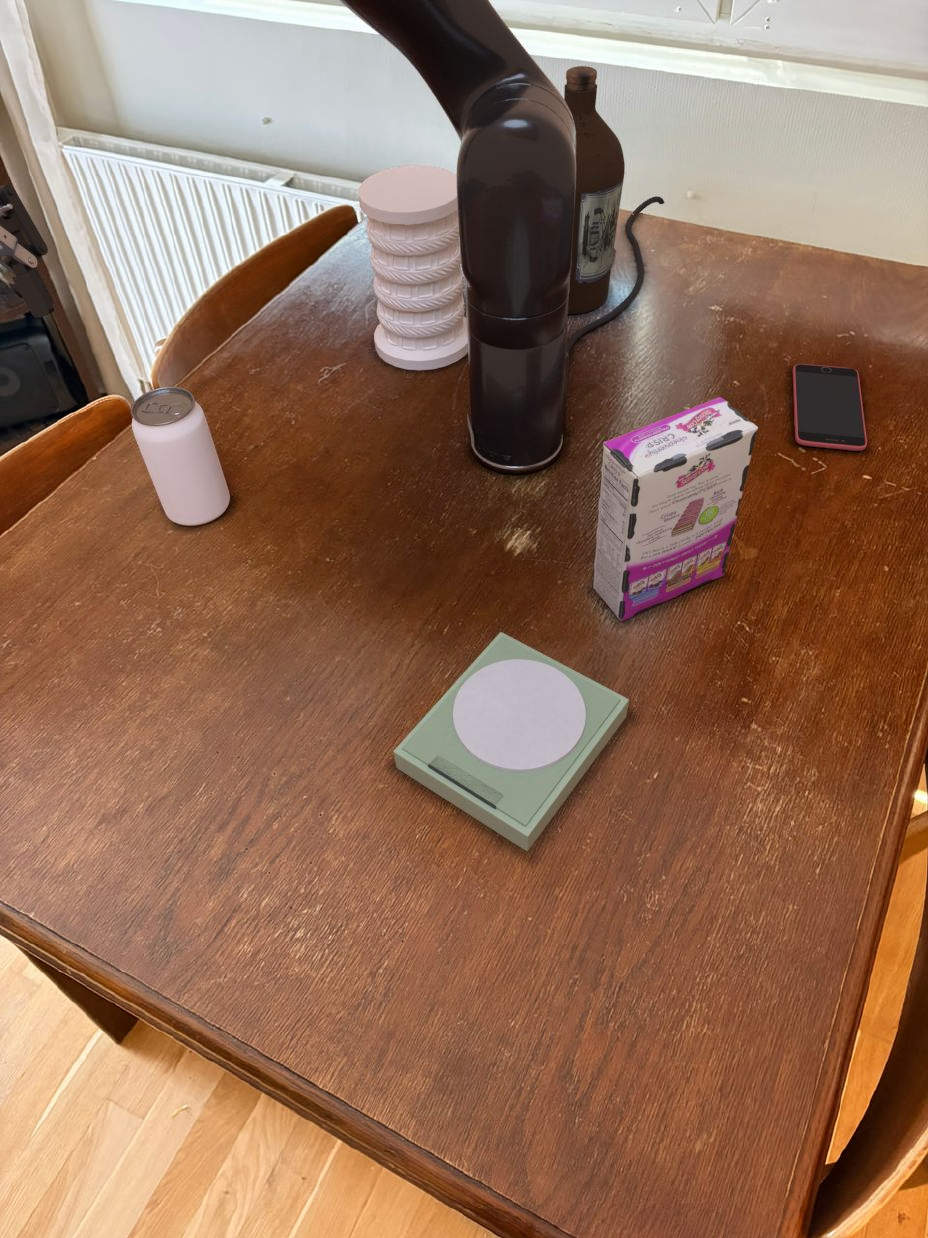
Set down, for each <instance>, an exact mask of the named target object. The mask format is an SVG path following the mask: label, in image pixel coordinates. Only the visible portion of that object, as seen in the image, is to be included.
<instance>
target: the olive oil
mask: <svg viewBox="0 0 928 1238" xmlns="http://www.w3.org/2000/svg"><path fill="white" fill-rule="evenodd" d="M597 77H598V71H597V70H596V68H594V67H591V66H586V65H578V66H577V65H576V66H572V67H570V68H568V69H566V73H565V80H566V83H565V85H564V93H563V96H564V97H563V98H564V100H565V101H566V103H567V105H568V107H569V109H570V111H571V114H572V117H573V121H574V124H575V129H576V191H575V209H574V226H573V242H572V265H571V274H570V289H569V303H568V315H580V314H586V313H589V312H592V311H594V310H597V309H598V308H600V307H602V305H603V304H605V302H606V301H607V299H608V297H609V290H610V283H611V282H610V281H611V273H612V268H613V266H614V265H615V260H616V254H617V250H616V249H615V244H616V243H615V242H616V236H617V228H618V221H619V214H620V207H621V200H622V195H623V187H624V180H625V169H626V166H625V165H626V164H625V163H626V162H625V156H624V152H623V151H624V150H623V148H622V144H621V142H620V140H619V138H618V136H617V135H616V134H615V132H614V131H613V130H612V128H611V127H610V126H609V125H608V124H607V123H606V121H605V120H604V119H603V118H602V116H601V115H600V114H599V112H598V111H597V109H596V104H597V92H598V84H597V82H596V81H597Z"/></svg>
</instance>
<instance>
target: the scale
mask: <svg viewBox="0 0 928 1238" xmlns="http://www.w3.org/2000/svg"><path fill="white" fill-rule="evenodd" d="M629 702H630V699H629V698H627V697H625V696H624V695H622V694H620V693H618V692H616V691H614V690H612V689H610V688H608V687H607V686H604V685H603V684H601V683H599V682H597V681H596V680H593V679H592V678H590V677H587V676H585V675H583V674H582V673H580V672H578V671H576V670H574V669H572V668H570V667H569V666H567V665H566V664H565V665H564V664H563V663H561V662H559V661H557V660H555V659H553V658H551V657H549V656H548V655H545V654H544V653H542V652H540V651H538V650H536V649H535V648H533V647H530V646H529V645H526V644H525V643H523V642H522V641H519V640H517V639H516V638H514V637H513V636H509V635H508V634H506V633H504V632H502V631H500V632H499V633H498V634H497V635H496V636H495V637H494V638H493V639H492V641H491V642H490V643H488V645H487V646H486V647H485V648H484V650H483V651H482V652H481V653H480V654H479V655H478V656H477V657H476V659H475V660H473V662H472V663H471V664H470V665H469V666H468V667H467V669H466V670H464V671H463V673H462V674H461V675H460V676H459V678H458V679H456V681H455V682H454V683H453V684H452V685H451V686H450V688H448V689H447V690H446V692H444V694H443V695H442V696H441V697H440V698H439V700H438V701H437V702H436V703H435V704H434V705H433V706H432V707H431V709H429V711H428V712H427V713H426V714H425V715H424V716H423V717H422V719H420V721H419V722H418V723H417V724H416V725H415V726H414V727H413V729H412V730H410V732H409V733H408V734H407V735H406V736H405V737H404V738H403V740H402V741H401V742H400V743H399V744H398V745H397V746H396V747H395V749H394V750H393V751H392V752H393V757H394V763H395V767H396V769H397V770H398V771H401V772H402V773H403V774H405V775H407V776H408V777H410V778H411V779H413V780H414V781H416V782H417V783H419V784H420V785H422V786H424V787H425V788H427V789H429V790H430V791H431V792H433V793H435V794H436V795H438V796H440V797H441V798H443V799H444V800H446V801H447V802H449V803H450V804H452V805H454V806H455V807H456V808H458V809H460V810H461V811H463V812H465V813H466V814H467V815H469V816H471V817H472V818H474V819H475V820H477V821H479V822H480V823H481V824H483V825H485V826H486V827H488V828H489V829H491V830H493V831H494V832H496V833H497V834H498V835H500V836H502V837H503V838H505V839H507V840H508V841H509V842H511V843H513V844H514V845H516V846H518V847H519V848H521V849H522V850H524V851H525V852H529V851H530V849H531V848H532V846H533V845H534V844H535V842H536V841H537V839H538V838H539V837H540V835H541V834H542V833H543V831H544V830H545V828H546V827H547V826H548V825H549V823H550V822H551V821H552V819H553V818H554V817H555V815H556V814H557V813H558V811H559V809H561V807H562V805H563V804H564V803H565V801H566V800H567V798H569V796H570V795H571V793H572V792H573V791H574V789H575V788H576V786H577V785H578V783H580V781H581V780H582V778H583V777H584V775H586V773H587V772H588V770H589V769H590V767H591V766H592V764H593V763H594V762H595V761H596V760H597V758H598V757H599V755H600V753H601V752H602V751H603V749H604V748H605V747H606V745H607V744H608V743H609V742H610V740H611V739H612V737H613V736H614V735H615V733H616V732H617V730H618V729H619V728H620V726H621V725H622V724H623V722H624V721H625V719H626V718H627V714H628V709H629Z"/></svg>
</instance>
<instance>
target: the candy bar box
mask: <svg viewBox="0 0 928 1238" xmlns="http://www.w3.org/2000/svg"><path fill="white" fill-rule="evenodd" d="M758 430H759V427H758V426H757V425H756V424H755V423H754V422H752V421H751V420H750V419H749V418H747V417H745V416H744V415H743V414H742V413H740V411H738V410H737V409H736V408H734V407H732V406H731V404H730V402H728V401H727V400H726V399H724V398H722V397H721V396H718V397H716V398H713V399H710V400H708V401H706V402H703V403H701V404H697V405H695V406H693V407H690V408H688V409H685V410H682V411H681V412H677V413H676V414H673V415H670V416H668V417H665V418H662V419H660V420H657V421H655V422H652V423H649V424H647V425H645V426H642V427H639V428H637V429H634V430H631V431H629V432H626V433H624V434H622V435H621V434H620V435H618V436H616V437H613V438H611V439H608V440H606V441H603V442H602V453H601V465H600V480H599V481H600V482H599V494H598V511H597V520H596V521H597V522H596V535H595V537H596V538H595V550H594V562H593V574H592V575H593V576H592V590H594V592H595V593H596V594H597V596H598V597H599V598H600V599H601V600H602V601H603V602H604V604H606V605H607V607H608V608H609V610H610V611H611V612H612V614H614V616H615V617H616V618H617V619H618V620H619V621H620V622H624V621H626V620H628V619H629V620H630V619H631V618H633V617H636V616H638V615H639V614H642V613H644V612H646V611H649V610H650V609H652V608H656V607H657V606H659V605H662V604H664V603H666V602H668V601H670V600H672V599H675V598H676V597H679V596H681V595H683V594H686V593H688V592H690V591H692V590H694V589H697V588H699V587H701V586H703V585H706V584H708V583H710V582H712V581H715V580H717V579H719V578H721V577H723V576H724V575H725V569H726V566H727V562H728V557H729V552H730V549H731V545H732V540H733V535H734V531H735V527H736V522H737V520H738V516H739V515H738V514H739V509H740V504H741V500H742V497H743V493H744V489H745V485H746V484H745V483H746V482H747V481H746V480H747V477H748V471H749V467H750V463H751V459H752V455H753V450H754V445H755V442H756V437H757V433H758Z"/></svg>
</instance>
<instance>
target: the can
mask: <svg viewBox="0 0 928 1238" xmlns="http://www.w3.org/2000/svg"><path fill="white" fill-rule="evenodd" d="M130 415H131V418H132V419H131V429H132V433H133V436H134V438H135V441H136V443H137V446H138V450H139V452H140V454H141V456H142V459H143V461H144V464H145V466H146V469H147V472H148V474H149V476H150V479H151V482H152V484H153V486H154V490H155V491H156V494H157V496H158V499H159V501H160V504H161V506H162V509H163V511H164V513H165V515H166V517H167V518H168V519H169V520H170V521H171V522H173V523H176V524H178V525H180V526H184V527H198V526H203V525H207V524H209V523H211V522H213V521H215V520H217V519H219V518H220V517H221V516H222V515H223V514H224V513H225V512H226V511H227V509H228V507H229V504H230V501H231V494H230V490H229V488H228V487H229V486H228V484H227V481H226V478H225V475H224V471H223V468H222V464H221V462H220V461H221V460H220V458H219V454H218V452H217V448H216V445H215V442H214V439H213V436H212V434H211V431H210V427H209V424H208V421H207V418H206V415H205V412H204V410H203V407H201V405H200V404H199V403H198V402H197V401H196V399H195V396H194V395H193V393H191V392H190V391H189V390H188V389H186V388H183V387H178V386H163V387H157V388H155V389H151V390H148V391H147V392H145V393H143V394H141V395H140V396H139V397H137V399H136V400H135V401H133V403H132V405H131V407H130Z"/></svg>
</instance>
